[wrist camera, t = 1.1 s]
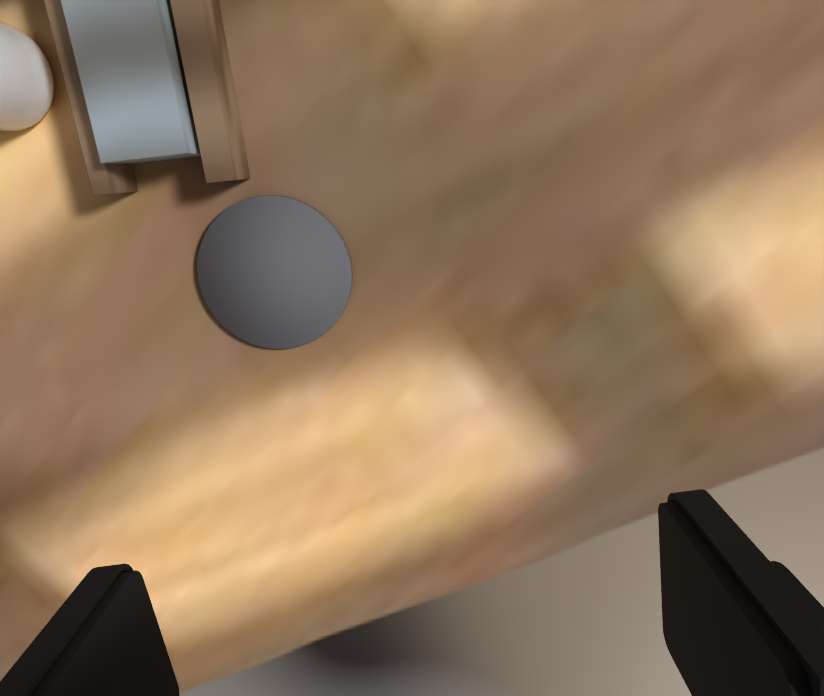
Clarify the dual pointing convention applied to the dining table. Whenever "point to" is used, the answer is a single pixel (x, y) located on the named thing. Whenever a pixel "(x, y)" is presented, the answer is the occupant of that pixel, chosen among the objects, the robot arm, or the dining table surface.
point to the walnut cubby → (148, 87)
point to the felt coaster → (274, 272)
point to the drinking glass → (22, 80)
